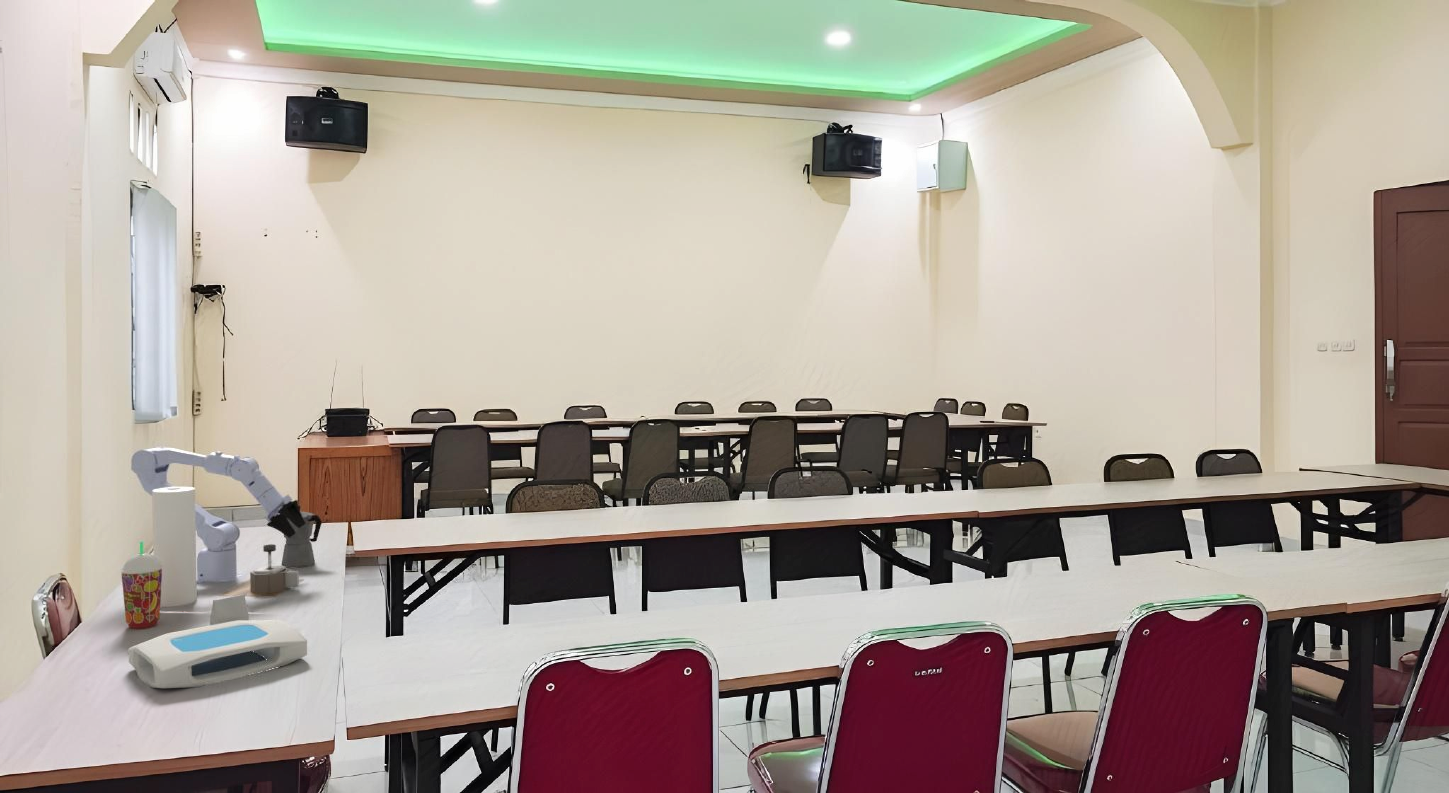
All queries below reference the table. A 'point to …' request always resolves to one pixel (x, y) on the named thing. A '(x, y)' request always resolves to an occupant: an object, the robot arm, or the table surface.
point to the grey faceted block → (273, 579)
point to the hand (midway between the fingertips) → (297, 530)
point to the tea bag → (229, 610)
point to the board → (247, 591)
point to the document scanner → (215, 652)
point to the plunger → (269, 555)
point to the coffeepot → (301, 542)
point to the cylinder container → (175, 543)
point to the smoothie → (142, 589)
